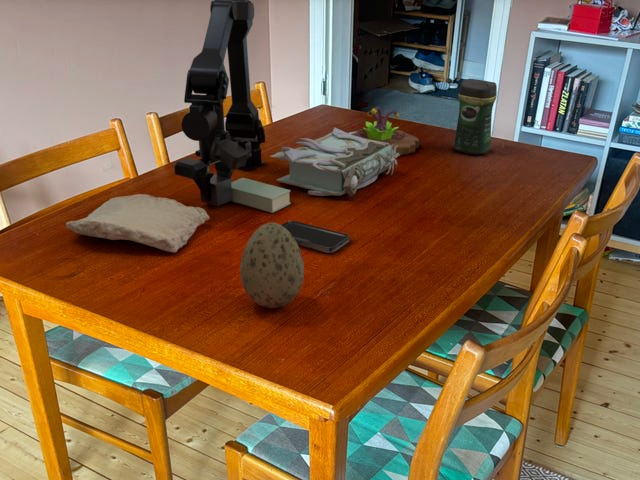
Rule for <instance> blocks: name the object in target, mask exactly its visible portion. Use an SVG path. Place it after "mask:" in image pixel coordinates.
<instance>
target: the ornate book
mask: <svg viewBox="0 0 640 480" xmlns="http://www.w3.org/2000/svg"><path fill="white" fill-rule="evenodd" d="M348 133H349V134H348ZM353 133H357V132H355V131H354V132H353V131H350V132H346V131H343V130H341V129H339V128H337V127H335V126H334V127H333V130H332V131H331V132H330V133H327V134H325V135H323V136H321V137H319V138H317V139H311V138H307V137H300V138H298V140H301V141H296V142H294V144H295V145H303V146H300V147H296V148H292V147H289V146H288V147H287V146H281V151H278V152H276V153H274V154H272V155H270V157H271V158H275V160H279V161H284V162H287V163H289V173H288V174H286V175H283V176H281V177H279V178H277V179H275V180H276V182H278V183H281V184H286V185H291V186H295V187H299V188H302V189H307V190H308V191H307V194H308V195H311V196H317V197H318V196H320V197H329V196H335V197H336V196H342V195H346V194H347V195H349V197H350V198H352V197H354V196H355V194H356V192H357V191H358V189H361V188H364V187H367V186H368V185H370V184H372V183H374V182H375V181H376V180H377V179H378V177H379V175H380V174H382V173H384V172H385V171H387V172H386V173H385V175H388V174H389V173H390V171H391V170H392V171H391V174H390V176H392V175H393V173H394V169H395V168H396V169H398V161H397V158H398V157H401V155H399V153H396V148H397V146H398V145H396V146H395V148H394V150H393V149H392V146H393V144H392V146H391V145H390V144H388V143H385V142H379V141H374V140H369V139H364V138H361V137H357V136H354V135H351V134H353ZM395 153H396V154H395ZM394 154H395V155H394ZM394 167H395V168H394Z"/></svg>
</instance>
